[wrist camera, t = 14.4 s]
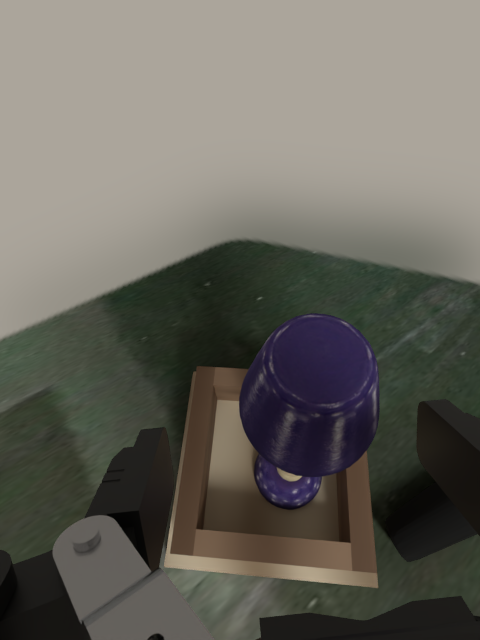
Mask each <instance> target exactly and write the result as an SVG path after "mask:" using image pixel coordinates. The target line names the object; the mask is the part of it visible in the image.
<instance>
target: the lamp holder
mask: <svg viewBox="0 0 480 640" xmlns="http://www.w3.org/2000/svg"><path fill="white" fill-rule="evenodd" d="M248 370H249V369H238V368H221V367H204V366H197V370H196V372H193V377H192V383H191V390H190V397H189V403H188V410H187V417H186V423H185V430H184V437H183V443H182V450H181V457H180V463H179V470H178V477H177V483H176V490H175V497H174V503H173V510H172V517H171V523H170V530H169V537H168V543H167V550H166V557H165V564H164V567H169V568H179V569H190V570H200V571H210V572H221V573H231V574H241V575H252V576H262V577H272V578H282V579H293V580H303V581H313V582H324V583H334V584H344V585H355V586H365V587H375V588H378V579H377V567H376V555H375V543H374V532H373V520H372V508H371V497H370V485H369V473H368V462H367V450H366V452H365V453H364V454H363V455H362V457H361V458H360V459H359V460H358V461H356V462H355V463H354V464H353V465H352V466H350V467H349V468H346V469H345V470H343V471H341V472H338V473H335V474H332V475H328V476H322V481H321V485H320V489H319V491H318V493H317V495H316V496H315V497H314V499H313V500H311V501H310V502H309V503H308V504H307V505H305V506H303V507H301V508H298V509H294V510H287V509H282V508H278V507H276V506H274V505H272V504H271V503H270V502H268V501H267V500H266V499H265V498H264V497H263V496H262V494H261V493H260V491H259V489H258V487H257V485H256V482H255V477H254V465H255V461H256V459H257V456H258V454H259V453H258V452H257V451H256V450H255V448H254V447H253V446H252V444H251V443H250V441H249V440H248V438H247V436H246V434H245V432H244V429H243V426H242V422H241V418H240V413H239V397H240V392H241V387H242V383H243V381H244V378H245V376H246V374H247V372H248Z"/></svg>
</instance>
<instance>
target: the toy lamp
mask: <svg viewBox="0 0 480 640" xmlns="http://www.w3.org/2000/svg"><path fill="white" fill-rule="evenodd" d="M239 413H240V418H241V422H242V426H243V429H244V432H245V434H246V436H247V438H248V440H249V441H250V443H251V444H252V446H253V447H254V448H255V450H256V451H257V452H258V453H259V454H258V456H257V459H256V461H255V465H254V477H255V482H256V485H257V487H258V489H259V491H260V493H261V494H262V496H263V497H264V498H265V499H266V500H267V501H268V502H270V503H271V504H272V505H274V506H276V507H278V508H282V509H287V510H294V509H298V508H301V507H303V506H305V505H307V504H308V503H309V502H310V501H311V500H313V499H314V497H315V496H316V495H317V493H318V491H319V489H320V485H321V481H322V476H328V475H332V474H335V473H338V472H341V471H343V470H345V469H346V468H349V467H350V466H352V465H353V464H354V463H355V462H356V461H358V460H359V459H360V458H361V457H362V455H363V454H364V453H365V452H366V450H367V449H368V447H369V446H370V444H371V442H372V440H373V438H374V436H375V433H376V429H377V426H378V420H379V376H378V366H377V361H376V358H375V355H374V352H373V350H372V348H371V345H370V343H369V342H368V341H367V340H366V339H365V337H364V336H363V335H362V334H361V332H360V331H359V330H357V329H356V328H355V327H354V326H352V325H351V324H349V323H348V322H346V321H344V320H342V319H340V318H337V317H335V316H331V315H325V314H316V313H315V314H306V315H301V316H296V317H294V318H292V319H290V320H288V321H286V322H285V323H283V324H282V325H280V326H279V327H278V328H277V329H276V330H275V331H274V332H273V333H272V334H271V335H270V336H269V338H268V339H267V341H266V342H265V343H264V345H263V346H262V348H261V350H260V351H259V353H258V354H257V356H256V358H255V359H254V361H253V363H252V365H251V366H250V368H249V370H248V372H247V374H246V376H245V378H244V381H243V383H242V387H241V392H240V397H239Z"/></svg>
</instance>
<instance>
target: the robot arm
mask: <svg viewBox="0 0 480 640" xmlns="http://www.w3.org/2000/svg"><path fill="white" fill-rule="evenodd" d="M417 453H418V456H419V459H420V462H421V464H422V465H423V467H424V468H425V469H426V470H427V472H428V473H429V474H430V475H431V477H432V478H433V479H434V480H435V482H436V483H437V484H438V485H439V486H440V488H441V489H442V490H443V491H444V493H445V494H446V495H447V496H448V498H449V499H450V500H451V501H452V503H453V504H454V505H455V506H456V507H457V509H458V510H459V511H460V512H461V514H462V515H463V516H464V517H465V519H466V520H467V521H468V522H469V524H470V525H471V526H472V527H473V528H474V530H475V531H476V532H477V533H478V535H479V536H480V419H479V418H477V417H475V416H472V415H470V414H468V413H463V412H462V411H461V410H460V409H458V408H457V407H456V406H455V405H453V404H452V403H451V402H450V401H448V400H446V399H442V400H433V401H423V402H420V403H419V406H418V416H417ZM173 487H174V475H173V467H172V460H171V454H170V448H169V442H168V435H167V431H166V428H165V427H162V428H153V429H143V430H141V431H140V432H139V435H138V437H137V440H136V442H135V445H134V447H127V448H123V449H122V450H121V451H120V452H119V453H118V454H117V455H116V456H115V457H114V458H113V459H112V461H111V463H110V465H109V467H108V469H107V473H105V475H104V478H103V480H102V484H100V486H99V488H98V490H97V492H96V495H95V497H94V499H93V501H92V503H91V505H90V507H89V509H88V512H87V514H86V516H85V518H84V519H82V520H80V521H78V522H76V523H74V524H73V525H71V526H70V527H68V528H67V529H66V530H65V531H64V532H63V533H62V534H61V535H60V536H59V537H58V539H57V540H56V542H55V544H54V547H53V550H51V551H49V552H47V553H44V554H42V555H39V556H36V557H33V558H30V559H28V560H25V561H22V562H19V563H16V564H12V561H11V557H10V555H9V554H8V553H7V552H5V551H3V550H0V640H215V639H214V638H213V636H212V635H211V634H210V632H209V631H208V630H207V628H206V627H205V626H204V624H203V623H202V622H201V620H200V619H199V617H198V616H197V615H196V613H195V612H194V611H193V609H192V608H191V607H190V605H189V604H188V603H187V601H186V600H185V599H184V597H183V596H182V595H181V593H180V592H179V590H178V589H177V588H176V586H175V585H174V584H173V582H172V581H171V580H170V578H169V577H168V576H167V574H166V573H165V572H164V571H163V570H162V569H161V568H159V563H160V558H161V553H162V547H163V542H164V537H165V532H166V526H167V521H168V516H169V511H170V505H171V500H172V495H173ZM259 619H260V630H261V638H259V639H256V640H480V617H479V616H473V614H472V613H471V611H470V610H469V608H468V607H467V605H466V603H465V602H464V600H463V599H462V597H461V596H457V597H447V598H438V599H429V600H420V601H412V602H409V603H407V604H405V605H402V606H400V607H398V608H395V609H393V610H391V611H388V612H386V613H384V614H381V615H379V616H377V617H374V618H372V619H370V620H365V621H361V620H354V619H347V618H340V617H334V616H327V615H321V614H314V613H303V614H294V615H284V616H275V617H266V618H259Z"/></svg>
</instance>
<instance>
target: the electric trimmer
mask: <svg viewBox="0 0 480 640" xmlns="http://www.w3.org/2000/svg"><path fill="white" fill-rule="evenodd" d="M385 524H386V528H387V530H388V533H389V535H390V537H391V540H392V542H393V544H394V546H395V547H396V549H397V550H398V552H399V553H400V555H401V556H402V557H403V558H404V559H405V560H406V561H407V562H411V561H414V560H418V559H421V558H423V557H425V556H428V555H430V554H432V553H435V552H437V551H439V550H441V549H444V548H446V547H448V546H451V545H453V544H455V543H458V542H460V541H462V540H465V539H467V538H469V537H471V536H474V535H476V534H478V533H477V532H476V531H475V530H474V528H473V527H472V526H471V525H470V524H469V522H468V521H467V520H466V519H465V517H464V516H463V515H462V514H461V512H460V511H459V510H458V509H457V507H456V506H455V505H454V504H453V503H452V501H451V500H450V499H449V498H448V496H447V495H446V494H445V493H444V491H443V490H442V489H441V488H440V486H439V485H438V484H437V483H436V482H435V483H433V484H432V485H430V486H429V487H428V488H426V489H425V490H424V491H422V492H421V493H420V494H418V495H417V496H415V497H414V498H413V499H411V500H410V501H409V502H407V503H406V504H404V505H403V506H402V507H400V508H399V509H398V510H396V511H395V512H394V513H392V514H391V515H390V516H389V517H388V518H387V519H386V521H385Z"/></svg>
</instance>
